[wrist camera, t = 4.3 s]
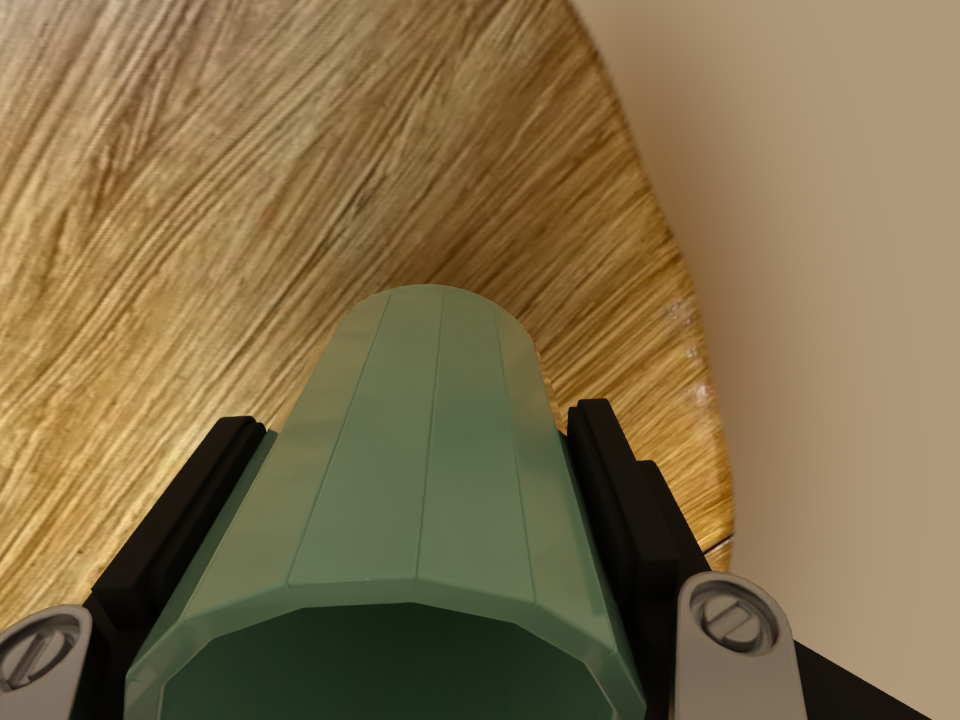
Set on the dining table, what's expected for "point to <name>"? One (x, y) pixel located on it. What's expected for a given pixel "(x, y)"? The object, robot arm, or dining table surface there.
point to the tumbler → (400, 544)
